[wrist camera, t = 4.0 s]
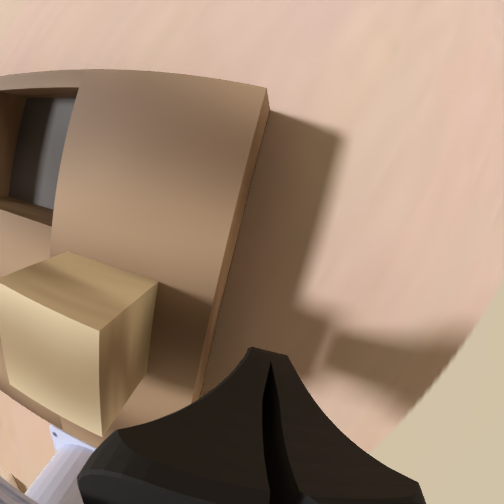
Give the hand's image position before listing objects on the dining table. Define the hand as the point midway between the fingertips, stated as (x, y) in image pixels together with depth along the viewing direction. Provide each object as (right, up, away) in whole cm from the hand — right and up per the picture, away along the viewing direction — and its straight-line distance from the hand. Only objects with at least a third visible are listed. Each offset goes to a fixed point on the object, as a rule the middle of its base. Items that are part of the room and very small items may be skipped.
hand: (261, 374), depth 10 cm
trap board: (-14, +5, +4) cm, 16 cm away
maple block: (-6, +2, +1) cm, 6 cm away
